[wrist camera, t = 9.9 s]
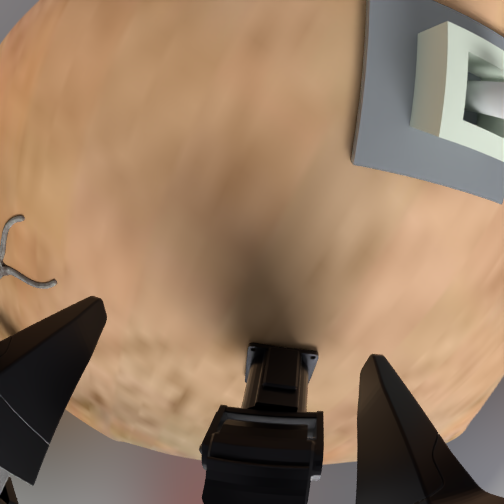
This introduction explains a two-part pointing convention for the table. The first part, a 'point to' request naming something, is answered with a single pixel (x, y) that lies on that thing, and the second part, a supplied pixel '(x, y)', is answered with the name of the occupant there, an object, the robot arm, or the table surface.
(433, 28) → the hollow square sleeve
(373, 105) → the post stand
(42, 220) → the table surface
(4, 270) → the pliers
